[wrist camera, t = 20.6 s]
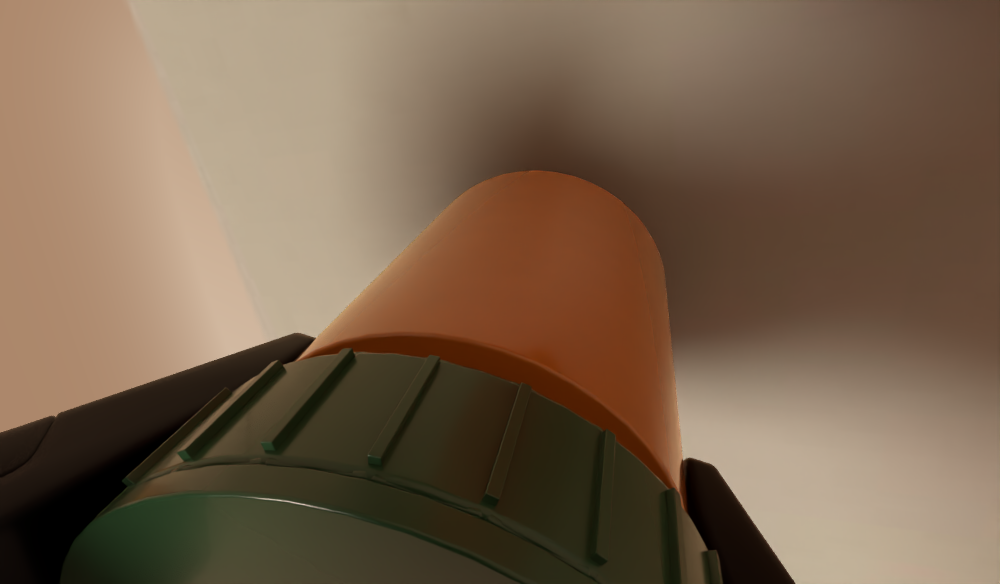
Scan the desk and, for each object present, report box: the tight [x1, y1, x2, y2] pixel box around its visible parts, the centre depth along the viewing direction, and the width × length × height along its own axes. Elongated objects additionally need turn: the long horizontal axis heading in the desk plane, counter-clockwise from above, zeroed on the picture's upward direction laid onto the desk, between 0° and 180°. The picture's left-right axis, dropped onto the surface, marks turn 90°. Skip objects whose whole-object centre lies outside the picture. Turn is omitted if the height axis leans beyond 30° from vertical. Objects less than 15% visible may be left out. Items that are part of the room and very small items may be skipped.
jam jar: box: [293, 170, 688, 514], centre depth 9 cm, size 6×6×9 cm
